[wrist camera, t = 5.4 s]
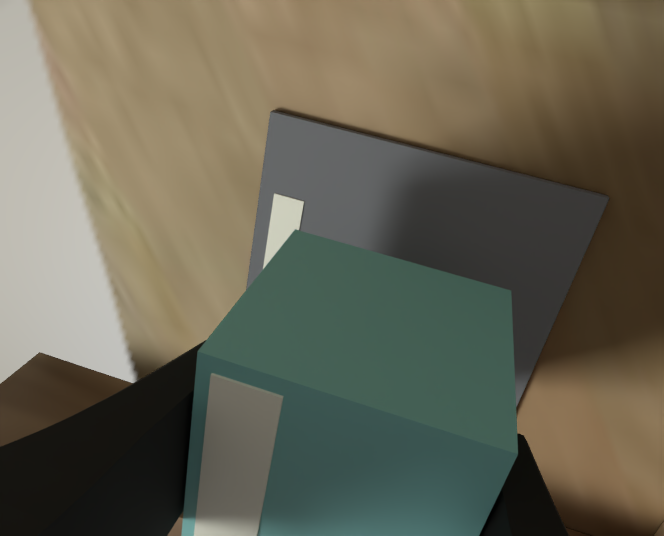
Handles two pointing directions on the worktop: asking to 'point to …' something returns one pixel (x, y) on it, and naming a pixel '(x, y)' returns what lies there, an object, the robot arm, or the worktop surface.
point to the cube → (352, 401)
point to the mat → (428, 217)
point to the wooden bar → (59, 400)
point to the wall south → (660, 530)
